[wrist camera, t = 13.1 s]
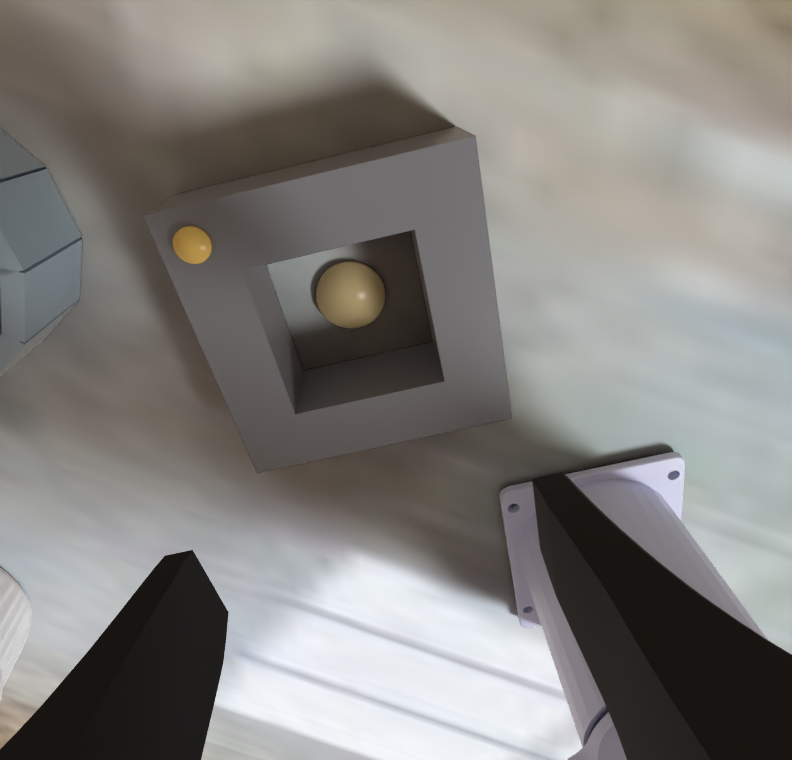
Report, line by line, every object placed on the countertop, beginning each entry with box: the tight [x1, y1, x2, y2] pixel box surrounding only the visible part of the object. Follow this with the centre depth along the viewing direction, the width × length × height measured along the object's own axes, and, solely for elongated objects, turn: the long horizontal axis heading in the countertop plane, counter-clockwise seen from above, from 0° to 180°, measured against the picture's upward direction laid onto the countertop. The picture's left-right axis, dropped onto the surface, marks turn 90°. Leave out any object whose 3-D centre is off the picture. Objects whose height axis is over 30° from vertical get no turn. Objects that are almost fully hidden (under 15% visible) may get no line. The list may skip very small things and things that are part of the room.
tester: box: [143, 126, 512, 473], centre depth 18 cm, size 9×9×3 cm
